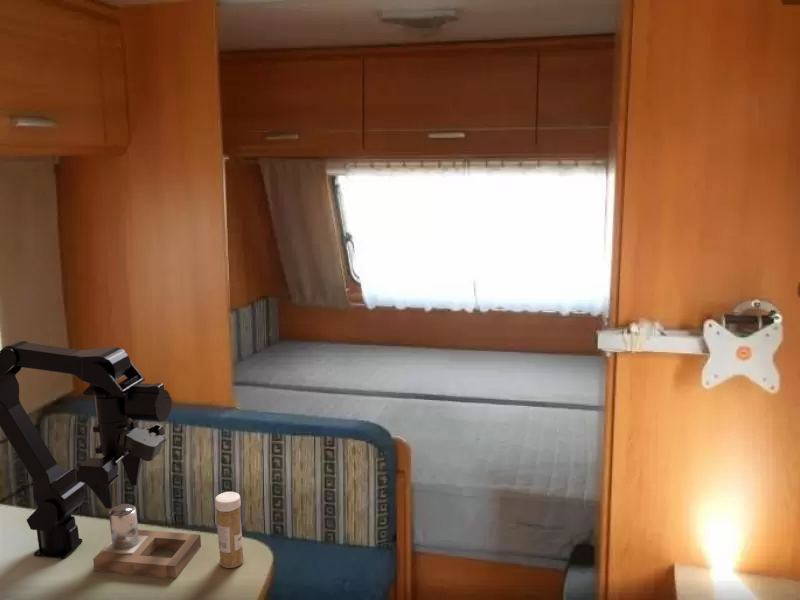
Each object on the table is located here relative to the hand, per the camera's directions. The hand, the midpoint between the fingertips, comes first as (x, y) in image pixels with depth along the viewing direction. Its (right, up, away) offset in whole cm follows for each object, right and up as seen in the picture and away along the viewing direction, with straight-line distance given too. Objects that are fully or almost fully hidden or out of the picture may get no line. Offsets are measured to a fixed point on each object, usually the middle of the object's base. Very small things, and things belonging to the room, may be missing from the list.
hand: (121, 496), depth 142 cm
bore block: (+4, -12, +2) cm, 13 cm away
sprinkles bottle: (+20, -13, +1) cm, 24 cm away
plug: (0, -9, +2) cm, 10 cm away
